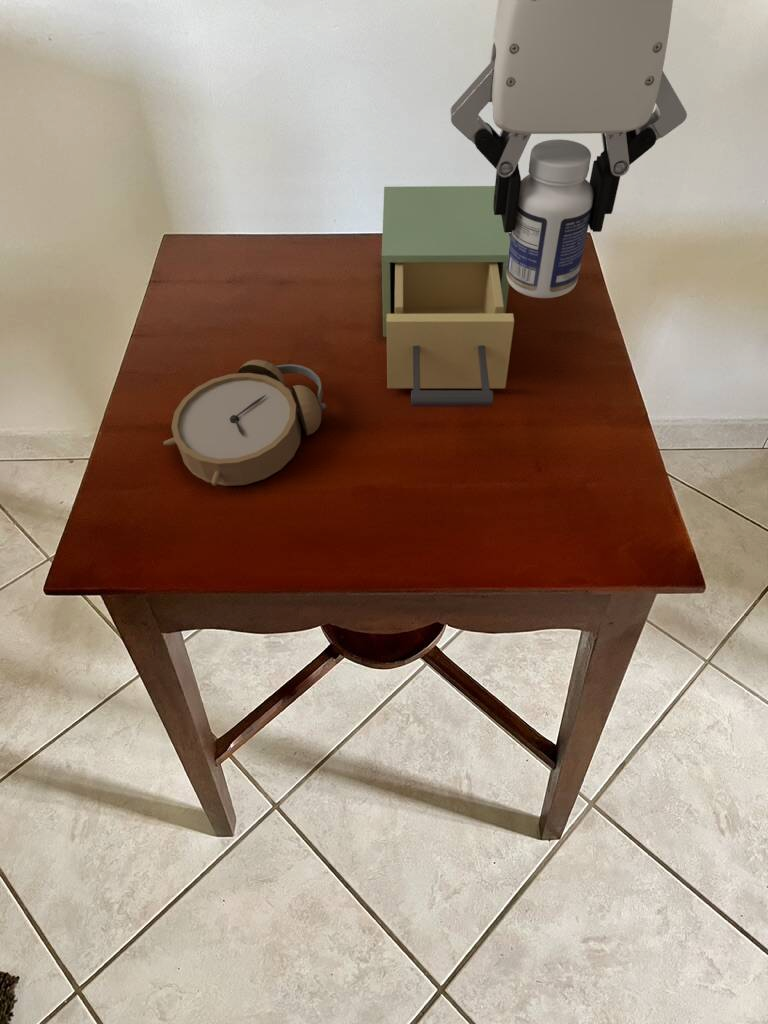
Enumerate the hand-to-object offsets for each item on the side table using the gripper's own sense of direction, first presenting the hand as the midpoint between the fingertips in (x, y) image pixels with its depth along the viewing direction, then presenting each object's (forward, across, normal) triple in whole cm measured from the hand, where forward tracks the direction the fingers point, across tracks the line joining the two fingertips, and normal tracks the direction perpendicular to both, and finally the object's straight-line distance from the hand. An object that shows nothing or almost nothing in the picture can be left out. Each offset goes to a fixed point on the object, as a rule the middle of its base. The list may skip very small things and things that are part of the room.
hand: (550, 219), depth 55 cm
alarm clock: (+22, +24, -1) cm, 33 cm away
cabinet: (+22, +6, -22) cm, 32 cm away
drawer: (+21, +6, -8) cm, 23 cm away
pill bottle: (+5, 0, 0) cm, 5 cm away
